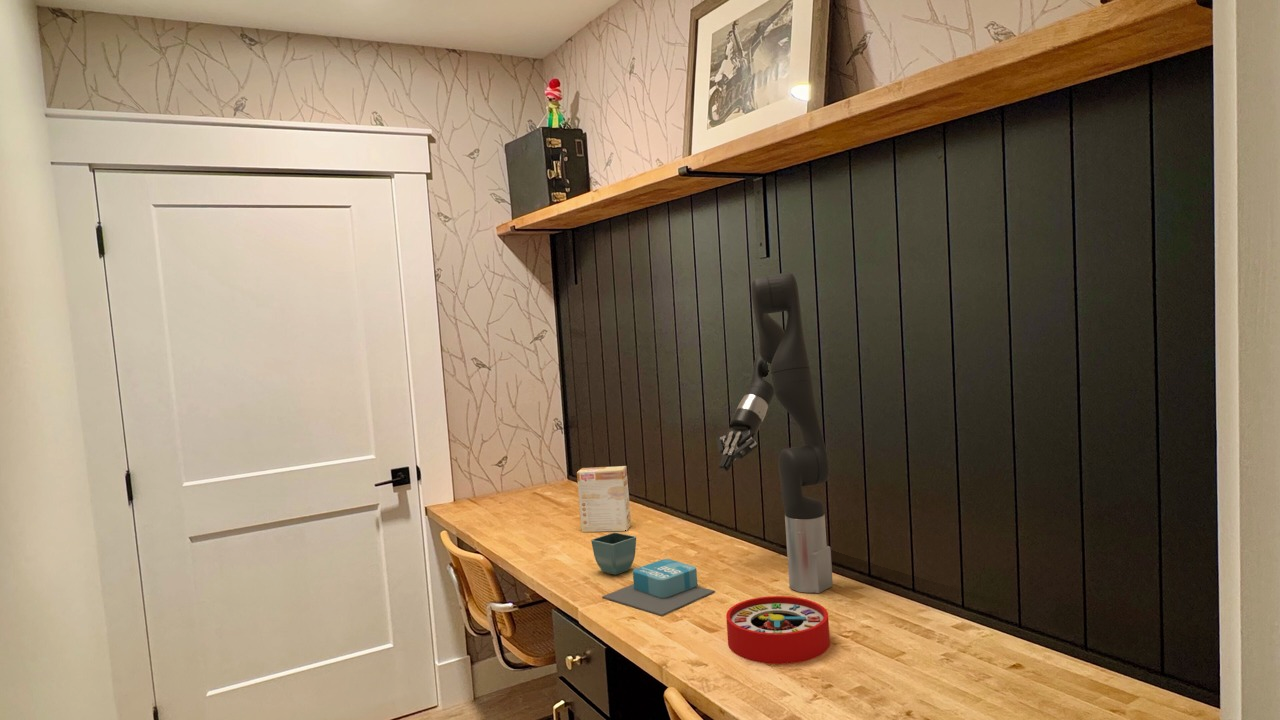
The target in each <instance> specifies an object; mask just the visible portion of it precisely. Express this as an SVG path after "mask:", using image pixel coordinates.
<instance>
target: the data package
mask: <svg viewBox="0 0 1280 720" xmlns="http://www.w3.org/2000/svg"><path fill="white" fill-rule="evenodd" d="M632 580H633V581H632V582H633V584H634V589H636V590H639V591H642V592H645V593H648V594H650V595H653V596H656V597H659V598H667V597H670V596H673V595H675V594H678V593H681V592H683V591H686V590H689V589H691V588H694V587H696V586H698V571H697V566H694V565H691V564H688V563H684V562H682V561H677V560H674V559H669V558H665V559H660V560H658V561H655V562H652V563H648V564H645V565H643V566H640V567H639V566H638V567H636V568H634V569H632Z"/></svg>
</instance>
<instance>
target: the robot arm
mask: <svg viewBox="0 0 1280 720" xmlns="http://www.w3.org/2000/svg"><path fill="white" fill-rule="evenodd" d="M750 291H751V300H752V301H751V302H752V306H753V313H754V317H755V318H754V319H755V324H756V327H757V331H758V346H759V347H758V348H759V354H760V355H759V354H757V356H756V357H755V359H754V362H753V368H752V374H751V380H750V383H749V386H748V387H747V390H746V392H745V394H744V395H743V397H742V399H741V401H740V402H739V404H738V406H737V408H736V409H735V412H734V414H733V416H732V418H731V419H730V423H729V428H728V430H727V431H726V432H725V433H724V435H723V436H720V435H717V436H716V437H715V441H716V445H717V449H718V452H719V454H721V456H722V457H721V459H720V461H719V463H718V468H719V469H720V470H721V472H728V471H729V470H731V467H732V466H733V463H734V461H736V460H737V459H739V460H741V459H743V458H744V457H746V456H747V455H748V454H750V453H752V452H753V451H754V450H755V449H756V448H757V447H758V446H759V444H758V443H757V442H756V440H755V439H754V438H755V436H756V435H757V433H758V432H759V429H760V427H761V425H762V423H763V421H764V419H765V417H766V414H767V412H768V408H769V406H770V404H771V402H772V400H773V398H774V395H775V396H776V399H777V400H778V402H779V403H780V404H781V406H782V407H783V408H784V409H785V411H786V412H787V413H788V415H790V416H791V417H792V419H793V420H794V421H795V423H796V424H797V426H798V428H799V430H800V433H801V436H802V439H803V443H804V445H802V446H795V447H787V448H784V449H782V450H781V451H780V453H779V456H778V475H779V480H780V481H779V482H780V489H781V490H780V491H781V499H782V505H783V510H784V521H785V523H784V525H785V535H786V536H785V537H786V540H785V541H786V554H787V570H788V584H789V588H790V589H791V590H793V591H795V592H799V593H811V594H812V593H813V594H814V593H816V594H820V593H822V592H824V591H826V590H828V589H830V588H832V587H833V586H834V583H833V582H834V581H833V568H832V552H831V551H832V550H831V549H832V548H831V546H829V545H827V533H826V530H827V529H826V516H825V515H826V513H825V504H824V502H823V501H822V500H820V499H817V498H813V497H808V496H805V495H804V494H803V490H802V489H803V488H802V487H808V486H813V485H814V486H815V485H821V484H822V485H823V484H825V483H826V482H827V481H828V479H829V477H830V462H829V457H828V452H827V448H826V444H825V440H824V437H823V433H822V428H821V425H820V421H819V417H818V415H819V414H818V411H817V405H816V399H815V393H814V386H813V385H814V384H813V379H812V372H811V366H810V361H809V358H808V353H807V347H806V341H805V336H804V329H803V320H802V312H801V300H800V293H799V288H798V283H797V279H796V277H795V275H794V274H793V273H792V272H784V273H783V272H782V273H776V274H775V273H774V274H769V275H762V276H758V277H755V278H754V279H753V280H752V282H751V287H750ZM783 312H786V315H787V319H786V320H787V321H786V325H785V329H784V328H783V327H782V326H781V324H780V323H778V322H777V321H776V320H775V319H773V318H772V316H770V315H769V314H773V313H783ZM767 362H768V363H770V364H771V374H772V381H771V382H772V384H771V383H769V382H768V381H767V380H766V379H764V378H763V377H766V376H767V375H768V372H769V370H768V365H767Z"/></svg>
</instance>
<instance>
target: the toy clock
mask: <svg viewBox="0 0 1280 720" xmlns="http://www.w3.org/2000/svg"><path fill="white" fill-rule="evenodd" d="M725 616H726V618H725V619H726V631H727V632H726V633H727V634H726V635H727V646H728V648H729V649H730V650H729V651H731V652H732V653H733V654H735V655H737V656H738V657H741V658H742V659H745V660H749V661H752V662H756V663H761V664H770V665H771V664H773V665H783V664H784V665H787V664H795V663H802V662H806V661H809V660H814V659H815V658H818V657H820V656H822V655H823V654H824V653H826V652H827V651H828V649H829V647H830V645H831V641H830V640H831V637H830V623H829V613H828V611H827V609H826V608H825V607H824V606H823V605H821V604H820V603H817V602H815V601H813V600H810V599H806V598H801V597H796V596H789V595H787V596H785V595H772V596H771V595H770V596H761V597H760V596H759V597H753V598H749V599H746V600H743V601H740V602H738V603H736V604H734V605H732V606H731V607H730V608H729V609H728V610H727V611H726V615H725Z"/></svg>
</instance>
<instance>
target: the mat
mask: <svg viewBox="0 0 1280 720" xmlns="http://www.w3.org/2000/svg"><path fill="white" fill-rule="evenodd" d="M715 593H716V590H713V589H709V588H706V587H702V586H698V585H697V586H696V587H694V588H691V589H689V590H686V591H683V592H681V593H678V594H675V595H673V596H670V597H667V598H659V597H656V596H653V595H650V594H648V593H645V592H642V591H639V590H636V589H634V583H632V584H629V585H627V586H625V587H622V588H619V589H617V590H615V591H612V592H610V593H607V594H605V595H603V596H602V595H601V596H602V597H601V598H602V599H604V600H608V601H611V602H615V603H618V604H620V605H624V606H627V607H630V608H634V609H637V610H640V611H644V612H647V613H649V614H653V615H657V616H660V617H664V616H666V615H668V614H670V613H673V612H675V611H677V610H680V609H681V608H684V607H685V606H688V605H691V604H693V603H694V602H697V601H700V600H702V599H704V598H706V597H708V596H710V595H713V594H715Z"/></svg>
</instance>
